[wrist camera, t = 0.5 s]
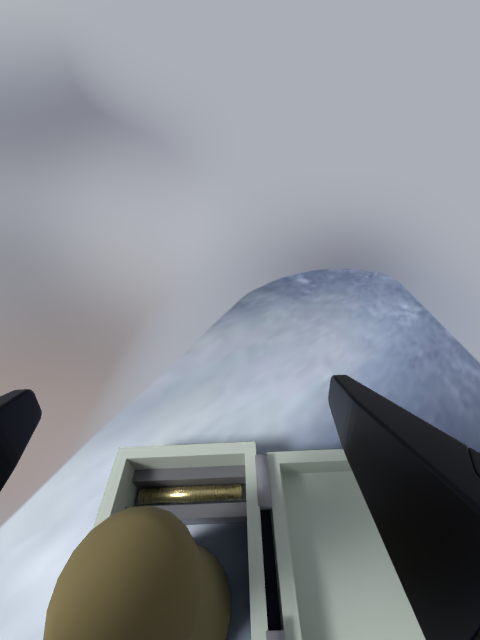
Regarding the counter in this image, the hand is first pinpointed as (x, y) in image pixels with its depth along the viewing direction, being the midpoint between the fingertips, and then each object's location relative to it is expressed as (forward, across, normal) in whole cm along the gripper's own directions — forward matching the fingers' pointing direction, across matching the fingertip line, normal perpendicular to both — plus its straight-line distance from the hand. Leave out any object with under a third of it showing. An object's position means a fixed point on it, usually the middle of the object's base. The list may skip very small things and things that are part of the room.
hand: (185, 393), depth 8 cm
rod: (+6, +2, +15) cm, 16 cm away
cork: (+1, +2, +17) cm, 17 cm away
